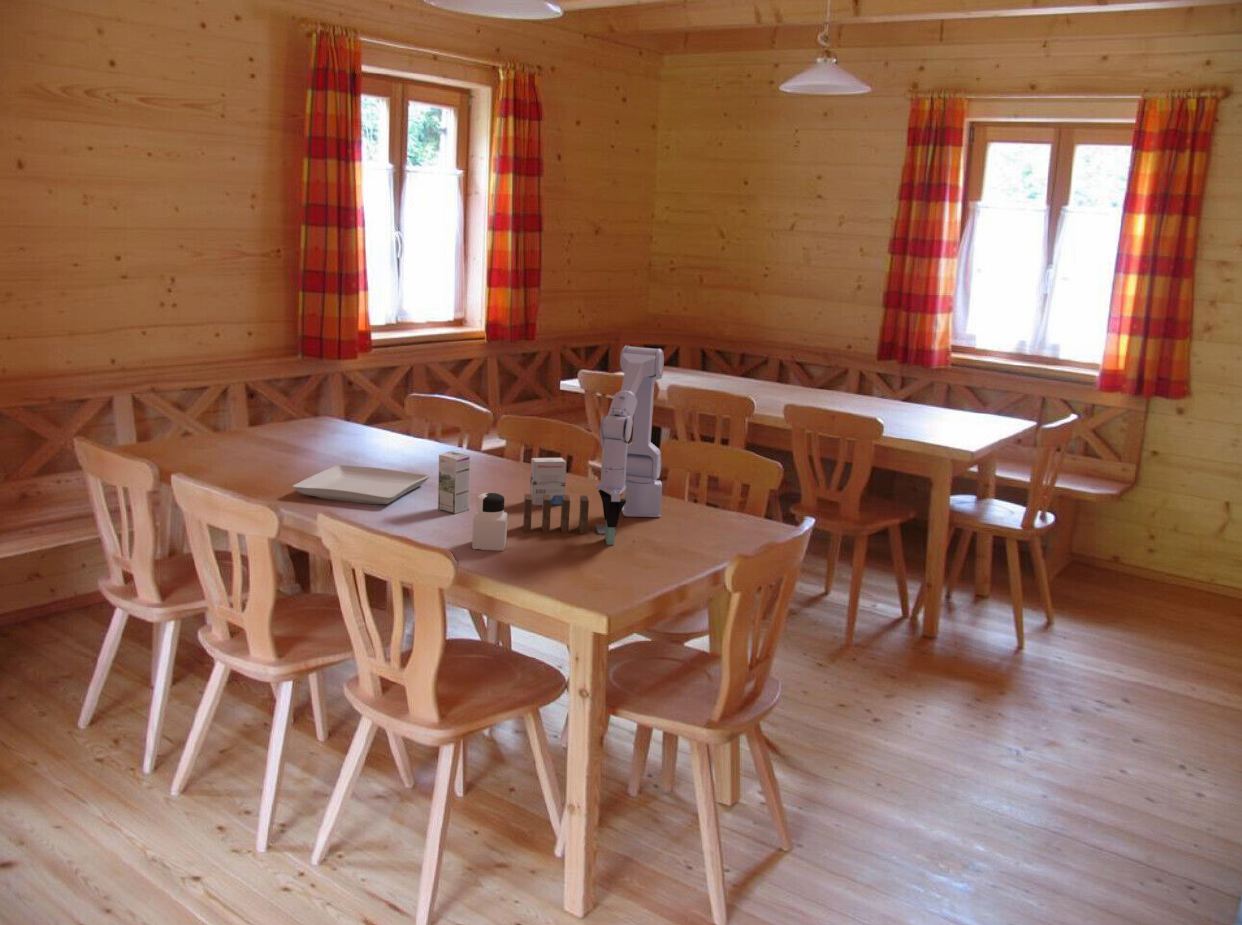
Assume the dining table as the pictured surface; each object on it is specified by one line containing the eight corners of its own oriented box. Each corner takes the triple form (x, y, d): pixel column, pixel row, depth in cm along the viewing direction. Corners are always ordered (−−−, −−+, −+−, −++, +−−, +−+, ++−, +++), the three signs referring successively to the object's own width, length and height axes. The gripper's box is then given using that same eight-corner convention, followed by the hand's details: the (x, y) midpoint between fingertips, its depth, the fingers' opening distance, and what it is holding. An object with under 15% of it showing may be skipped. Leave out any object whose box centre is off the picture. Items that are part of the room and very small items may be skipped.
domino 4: (585, 527, 267) (587, 495, 265) (587, 533, 262) (588, 501, 261) (578, 527, 267) (580, 495, 265) (580, 533, 262) (582, 500, 260)
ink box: (560, 500, 290) (562, 457, 288) (564, 505, 286) (567, 461, 283) (528, 500, 288) (530, 457, 286) (532, 505, 283) (534, 461, 281)
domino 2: (548, 526, 266) (550, 494, 264) (549, 532, 261) (551, 500, 259) (541, 526, 266) (543, 494, 264) (542, 532, 261) (544, 499, 259)
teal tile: (611, 538, 259) (613, 506, 257) (614, 544, 254) (616, 511, 253) (605, 538, 259) (606, 505, 257) (607, 544, 254) (609, 511, 252)
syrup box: (469, 509, 276) (471, 453, 273) (454, 514, 271) (455, 457, 268) (452, 505, 279) (453, 450, 276) (436, 510, 274) (438, 453, 271)
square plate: (391, 511, 272) (391, 496, 271) (289, 499, 277) (289, 484, 276) (431, 486, 298) (431, 472, 297) (337, 476, 303) (337, 462, 302)
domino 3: (567, 526, 267) (568, 495, 265) (568, 532, 262) (570, 500, 260) (560, 526, 266) (562, 494, 265) (561, 532, 262) (563, 500, 260)
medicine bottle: (506, 541, 252) (508, 491, 249) (504, 551, 245) (505, 499, 242) (475, 540, 252) (476, 490, 249) (472, 549, 245) (473, 498, 242)
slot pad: (612, 526, 269) (613, 524, 269) (616, 534, 262) (616, 533, 262) (595, 526, 269) (595, 524, 268) (597, 534, 262) (598, 532, 262)
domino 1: (530, 525, 266) (531, 494, 264) (530, 531, 261) (532, 499, 259) (523, 525, 265) (524, 493, 264) (524, 531, 260) (525, 499, 259)
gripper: (593, 459, 259) (590, 514, 262) (599, 474, 245) (596, 532, 248) (623, 460, 260) (619, 515, 263) (630, 474, 246) (627, 532, 249)
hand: (610, 523), depth 256 cm, fingers closed on teal tile, 5 cm apart
